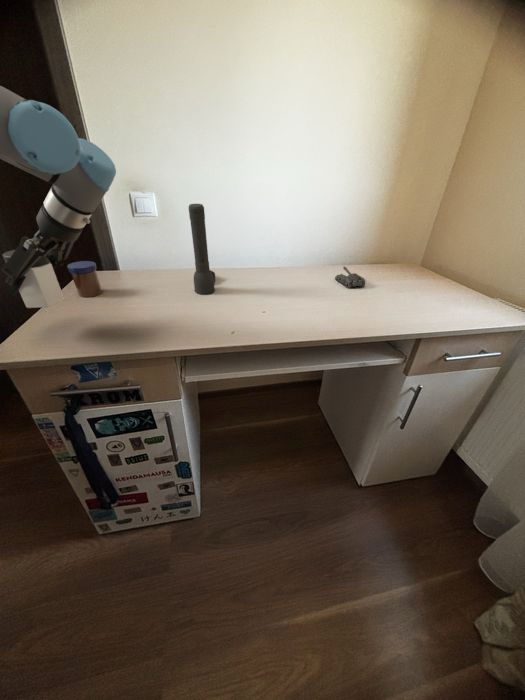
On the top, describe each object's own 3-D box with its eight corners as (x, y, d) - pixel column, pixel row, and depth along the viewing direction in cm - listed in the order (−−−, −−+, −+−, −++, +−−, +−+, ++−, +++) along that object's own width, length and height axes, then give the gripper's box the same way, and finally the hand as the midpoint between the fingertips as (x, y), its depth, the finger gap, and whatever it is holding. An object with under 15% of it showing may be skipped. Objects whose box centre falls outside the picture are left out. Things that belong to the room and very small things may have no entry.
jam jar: (80, 299, 92) (70, 270, 87) (77, 292, 97) (67, 264, 92) (104, 294, 96) (96, 267, 91) (99, 288, 101) (92, 261, 96)
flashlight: (192, 293, 100) (211, 295, 99) (180, 206, 82) (203, 208, 82) (198, 285, 105) (217, 287, 104) (189, 201, 88) (210, 203, 87)
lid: (70, 275, 87) (68, 269, 87) (67, 268, 93) (65, 263, 92) (99, 271, 92) (97, 265, 91) (94, 264, 97) (92, 259, 96)
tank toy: (331, 279, 118) (334, 266, 115) (351, 277, 120) (354, 265, 117) (346, 289, 108) (349, 276, 105) (367, 288, 110) (371, 275, 108)
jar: (49, 292, 75) (31, 246, 68) (73, 297, 73) (56, 250, 66) (14, 305, 68) (-10, 254, 61) (39, 311, 66) (17, 259, 59)
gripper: (40, 241, 50) (1, 313, 61) (109, 222, 68) (70, 280, 78) (-1, 206, 48) (-35, 288, 58) (82, 196, 66) (45, 260, 76)
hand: (26, 284), depth 68 cm, fingers closed on jar, 9 cm apart
